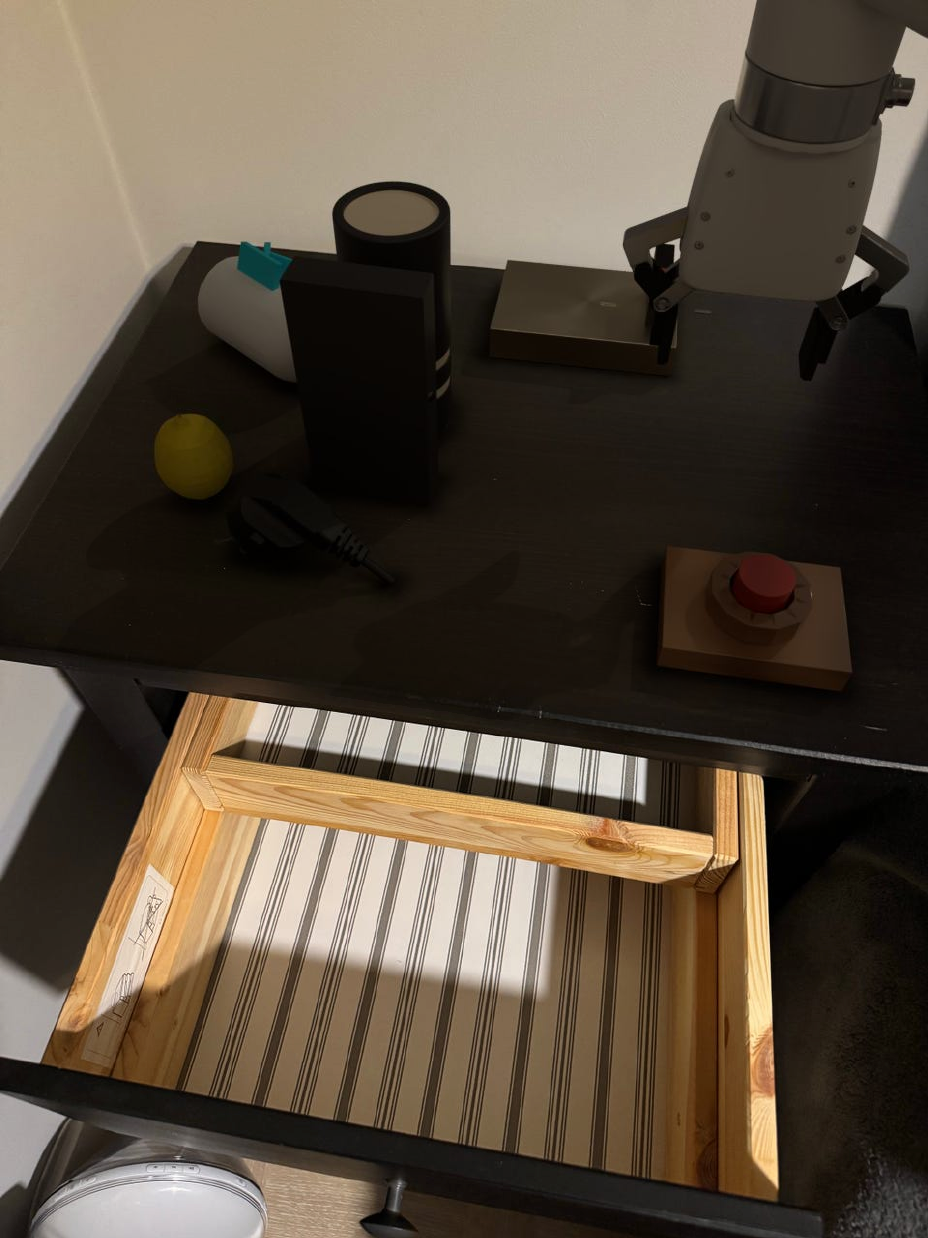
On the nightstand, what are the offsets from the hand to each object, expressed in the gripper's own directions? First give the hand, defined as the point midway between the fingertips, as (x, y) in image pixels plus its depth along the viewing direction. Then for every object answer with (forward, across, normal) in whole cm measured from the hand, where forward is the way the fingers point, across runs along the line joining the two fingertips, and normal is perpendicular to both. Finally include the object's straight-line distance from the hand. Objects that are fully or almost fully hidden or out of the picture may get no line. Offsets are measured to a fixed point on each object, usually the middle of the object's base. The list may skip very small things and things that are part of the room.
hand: (732, 360), depth 62 cm
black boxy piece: (+8, +5, -18) cm, 20 cm away
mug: (+11, +36, -10) cm, 39 cm away
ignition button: (+8, -4, +14) cm, 16 cm away
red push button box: (+11, -4, +14) cm, 18 cm away
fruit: (+11, +38, +9) cm, 40 cm away
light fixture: (+11, +25, 0) cm, 27 cm away
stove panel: (+11, +9, -18) cm, 23 cm away
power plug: (+11, +27, +14) cm, 32 cm away
